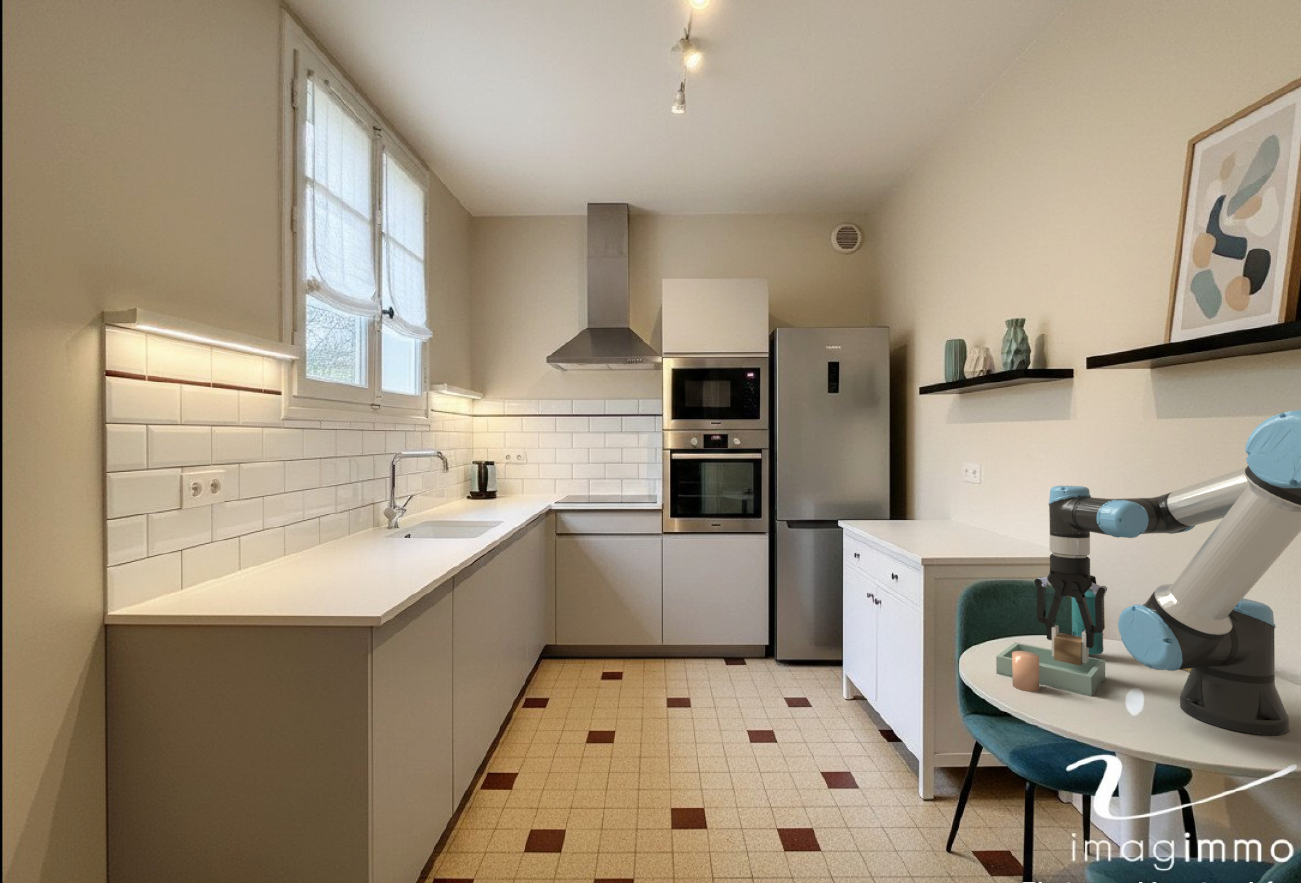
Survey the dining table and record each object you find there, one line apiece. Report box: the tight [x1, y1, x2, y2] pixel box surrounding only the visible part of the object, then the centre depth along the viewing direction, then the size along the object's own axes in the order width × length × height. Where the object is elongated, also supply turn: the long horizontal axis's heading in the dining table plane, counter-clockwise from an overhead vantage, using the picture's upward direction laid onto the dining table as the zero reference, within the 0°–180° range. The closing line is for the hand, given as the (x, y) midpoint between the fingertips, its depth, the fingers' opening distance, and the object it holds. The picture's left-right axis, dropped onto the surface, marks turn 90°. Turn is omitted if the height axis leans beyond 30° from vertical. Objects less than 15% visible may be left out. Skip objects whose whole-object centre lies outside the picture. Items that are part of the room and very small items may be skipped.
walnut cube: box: [1054, 632, 1083, 666], centre depth 139 cm, size 5×5×5 cm
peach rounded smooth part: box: [1011, 651, 1041, 693], centre depth 134 cm, size 5×5×7 cm
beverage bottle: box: [1070, 574, 1105, 655], centre depth 152 cm, size 6×7×20 cm
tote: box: [995, 642, 1106, 697], centre depth 140 cm, size 18×14×4 cm
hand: (1070, 657), depth 139 cm, fingers closed on walnut cube, 5 cm apart
